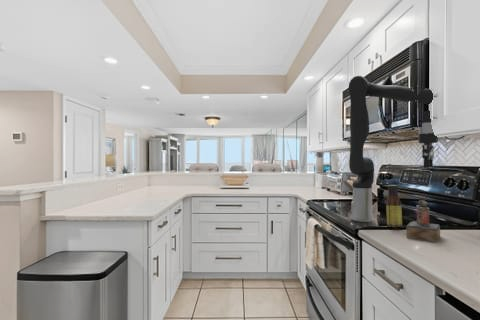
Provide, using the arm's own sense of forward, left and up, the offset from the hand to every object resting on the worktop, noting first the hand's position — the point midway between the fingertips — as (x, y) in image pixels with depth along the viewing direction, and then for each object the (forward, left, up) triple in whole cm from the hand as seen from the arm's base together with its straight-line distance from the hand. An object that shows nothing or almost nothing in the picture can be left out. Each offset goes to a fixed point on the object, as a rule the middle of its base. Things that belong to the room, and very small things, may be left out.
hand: (428, 167), depth 126 cm
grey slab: (+1, -21, -28) cm, 35 cm away
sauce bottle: (-12, -11, -28) cm, 33 cm away
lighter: (+1, -21, -23) cm, 31 cm away
